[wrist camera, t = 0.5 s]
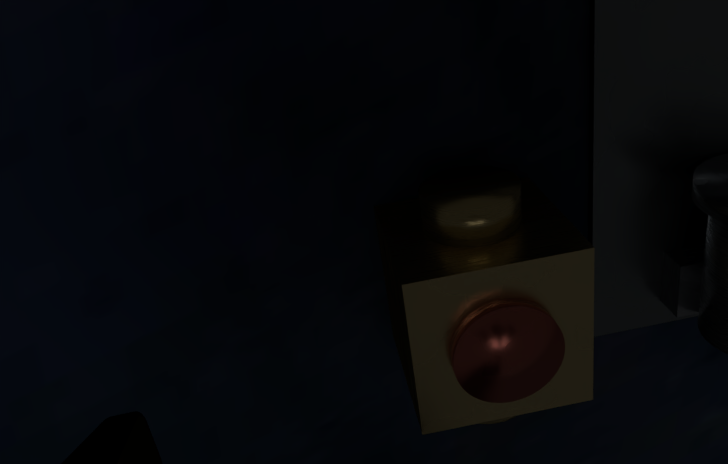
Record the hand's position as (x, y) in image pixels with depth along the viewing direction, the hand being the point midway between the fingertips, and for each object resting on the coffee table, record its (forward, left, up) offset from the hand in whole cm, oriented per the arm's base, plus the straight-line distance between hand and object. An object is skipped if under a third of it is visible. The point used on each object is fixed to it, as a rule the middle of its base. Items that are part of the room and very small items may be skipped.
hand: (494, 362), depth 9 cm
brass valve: (-6, -2, -13) cm, 14 cm away
